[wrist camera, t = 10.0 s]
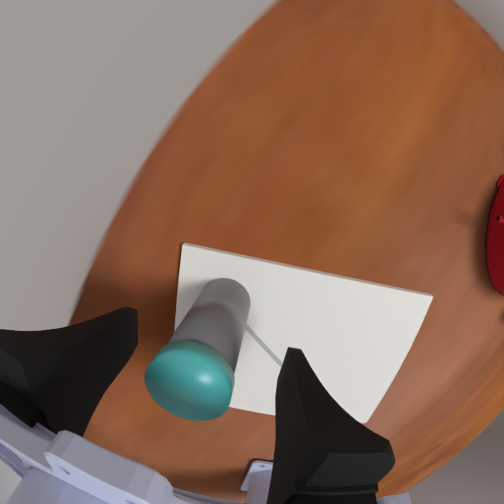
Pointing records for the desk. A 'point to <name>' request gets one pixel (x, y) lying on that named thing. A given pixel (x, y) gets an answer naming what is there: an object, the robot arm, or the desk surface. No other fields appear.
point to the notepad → (309, 327)
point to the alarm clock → (496, 239)
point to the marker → (202, 354)
